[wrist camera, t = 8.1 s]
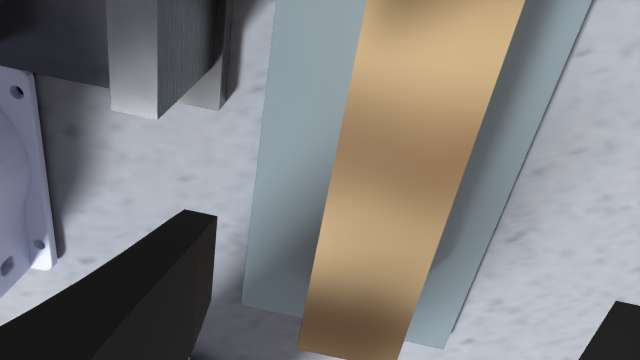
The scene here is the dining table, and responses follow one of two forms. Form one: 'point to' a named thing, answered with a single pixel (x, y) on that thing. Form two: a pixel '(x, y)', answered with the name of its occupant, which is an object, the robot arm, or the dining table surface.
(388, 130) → the oak rail
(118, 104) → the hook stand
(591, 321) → the dining table surface
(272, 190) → the mat
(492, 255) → the dining table surface
